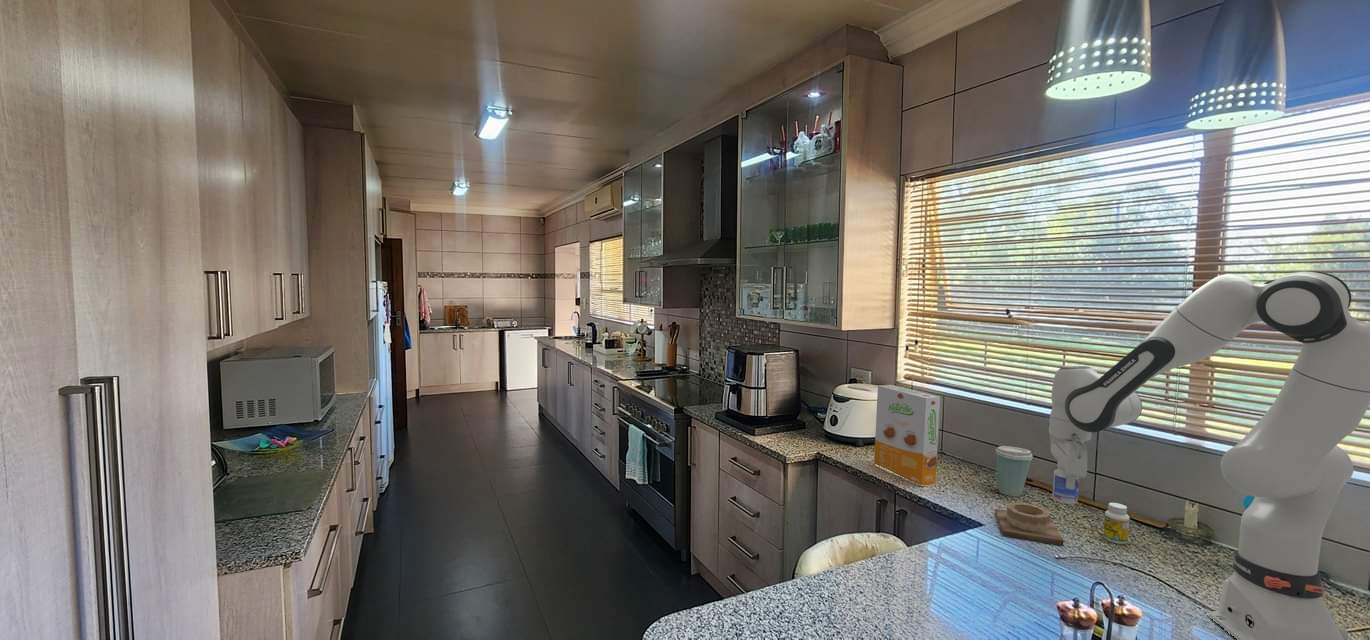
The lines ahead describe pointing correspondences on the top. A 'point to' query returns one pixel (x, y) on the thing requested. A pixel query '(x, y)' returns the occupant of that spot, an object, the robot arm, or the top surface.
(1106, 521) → the supplement bottle
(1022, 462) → the disposable coffee cup
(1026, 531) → the tan wooden ringed block
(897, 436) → the cereal box
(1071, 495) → the pill bottle
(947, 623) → the top surface
